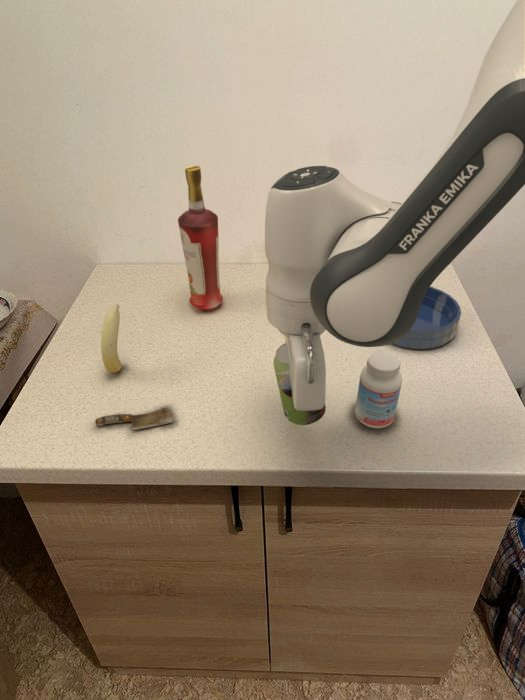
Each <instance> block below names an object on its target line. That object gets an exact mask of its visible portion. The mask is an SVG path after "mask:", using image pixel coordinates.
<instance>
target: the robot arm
mask: <svg viewBox="0 0 525 700" xmlns="http://www.w3.org/2000/svg"><path fill="white" fill-rule="evenodd" d="M523 187H525V0H516V2H515V3H514V5H513V6H512V7H511V10H510V11H509V12H508V14H507V16H506V18H505V19H504V21H503V22H502V24H501V26H500V28H499V29H498V30H497V33H496V34H495V36H494V37H493V39H492V41H491V43H490V45H489V47H488V49H487V51H486V53H485V55H484V57H483V59H482V62H481V65H480V68H479V70H478V73H477V75H476V79H475V82H474V84H473V87H472V90H471V93H470V96H469V98H468V101H467V104H466V106H465V108H464V111H463V113H462V115H461V117H460V120H459V121H458V124H457V126H456V127H455V130H454V132H453V134H452V135H451V138H449V141H448V143H447V144H446V146H445V147H444V149H443V151H441V154H440V155H439V156H438V158H437V159H436V161H435V162H434V163H433V164H432V165H431V167H430V168H429V169H428V171H427V172H426V173H425V174H424V176H423V177H421V179H420V180H419V181H418V182H417V184H416V185H415V187H414V188H413V189H412V190H411V191H410V193H408V195H407V196H406V197H405V199H404V200H403V201H402V202H398V201H389V200H386V199H384V198H380V197H378V196H376V195H373V194H372V193H370V192H368V191H365V190H363V189H362V188H360V187H358V186H357V185H356V184H354V183H352V182H351V181H350V180H349V179H348V178H347V177H346V176H345V175H344V173H343V172H342V171H341V170H339V169H337V168H336V167H332V166H327V165H311V166H305V167H299V168H296V169H294V170H291V171H288V172H287V173H285V174H284V175H282V176H281V177H279V178H278V179H277V180H276V181H275V182H274V184H273V185H272V186H271V187H270V189H269V191H268V195H267V199H266V207H265V218H264V219H265V220H264V253H265V257H266V259H267V262H268V269H267V273H266V277H265V302H266V303H265V304H266V318H267V320H268V322H269V323H270V325H272V327H274V328H275V329H276V330H278V332H279V333H280V334H281V335H283V336H284V337H283V338H284V344H285V343H286V347H287V354H288V361H289V374H290V381H291V388H292V396H293V402H294V407H295V409H296V410H298V411H312V410H320V409H322V408H323V407H324V405H325V406H326V386H327V385H326V381H327V380H326V377H327V375H326V374H327V373H326V371H327V370H326V369H327V368H326V356H325V351H324V348H323V347H324V346H323V343H322V338H321V335H323V334H324V333H325V332H326V331H327V332H328V334H330V335H331V336H333V337H334V338H336V339H337V340H339V341H341V342H343V343H345V344H348V345H351V346H356V347H359V348H361V347H362V348H377V347H378V348H379V347H384V346H389V345H393V344H392V343H394V342H396V341H398V340H400V339H401V338H403V337H404V336H405V335H406V334H407V333H408V332H409V331H410V329H411V328H412V326H413V325H414V323H415V321H416V318H417V315H418V313H419V310H420V307H421V304H422V301H423V299H424V296H425V294H426V292H427V290H428V289H429V287H430V286H431V287H432V284H433V283H434V282H435V280H437V278H438V277H439V276H440V275H441V274H442V273H443V272H444V271H445V270H446V268H447V267H448V266H449V265H450V264H451V263H452V262H453V261H454V260H455V259H456V258H457V257H458V256H459V255H460V254H461V253H462V252H463V251H464V250H465V249H466V247H468V246H469V245H470V243H471V242H473V240H474V239H475V238H476V237H477V236H478V235H479V234H480V233H481V232H482V231H483V230H484V229H485V228H486V227H487V226H488V225H489V224H490V222H492V220H493V219H494V218H495V217H496V216H498V214H499V213H500V212H501V211H502V210H503V209H504V208H505V207H506V205H508V203H509V202H511V200H512V199H513V198H514V197H515V196H516V195H517V194H518V192H519V191H520V190H522V188H523Z"/></svg>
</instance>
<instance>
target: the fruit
mask: <svg viewBox="0 0 525 700" xmlns="http://www.w3.org/2000/svg"><path fill="white" fill-rule="evenodd" d="M120 317H121V315H120V305H119V304H118V303H115V304H114V305H111V306H110V307H109V308H108V310H107V311H106V314H105V317H104V319H103V324H102V329H101V335H100V353H101V354H100V355H101V360H102V363H103V366H104V369H106V371H108V372H109V373H114V374H115V373H118V372H120V371H121V370H122V361H121V359H120V357H119V353H118V338H119V329H120V321H121V320H120V319H121V318H120Z"/></svg>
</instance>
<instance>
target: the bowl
mask: <svg viewBox="0 0 525 700" xmlns="http://www.w3.org/2000/svg"><path fill="white" fill-rule="evenodd" d="M461 316H462V310H461V306H460V305H459V303H458V301H457V300H456V299H455V298H453V296H451V295H450V294H449V293H447V292H445V291H443V290H442V289H440V288H436V287H434V286H432V285H431V286H430V287H429V289H428V290H427V292H426V294H425V296H424V299H423V301H422V304H421V307H420V310H419V313H418V315H417V318H416V321H415V323H414V325H413V326H412V328H411V329H410V331H409V332H408V333H407V334H406V335H405V336H404V337H403V338H401V339H400V340H398V341H396V342H394V343H392V344H391V345H393V346H396V347H400V348H403V349H408V350H419V351H420V350H431V349H436V348H439V347H442V346H444V345H445V344H447V343H449V342H451V340H452V339H454V337H455V336H456V333H457V330H458V326H459V324H460V323H459V322H460V320H461Z"/></svg>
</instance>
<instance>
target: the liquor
mask: <svg viewBox="0 0 525 700" xmlns="http://www.w3.org/2000/svg"><path fill="white" fill-rule="evenodd" d="M184 173H185V180H186V183H187V186H188V187H187V191H188V195H187V196H188V210H186V211H184V212H183V213H182V214H181V215H180V216H178V218H177V223H178V230H179V234H180V241H181V247H182V252H183V256H184V261H185V262H184V263H185V267H186V273H187V278H188V284H189V285H188V286H189V293H190V297H189V300H188V301H189V304H190V305H191V306H192V307H194V308H196V309H197V310H200V311H202V312H203V311H204V312H208V311H212V310H215V309H216V308H217V307H218V306H219V305H221V303H222V302H223V300H224V297H223V295H222V293H221V280H220V279H221V277H220V241H219V236H220V235H219V216H218V215H217V213H215V212H213V210H211V209H208V208H206V207H205V201H204V195H203V190H202V170H201V166H200V165H199V166H198V165H190V166H189V165H188V166H186V167H185V168H184Z"/></svg>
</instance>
